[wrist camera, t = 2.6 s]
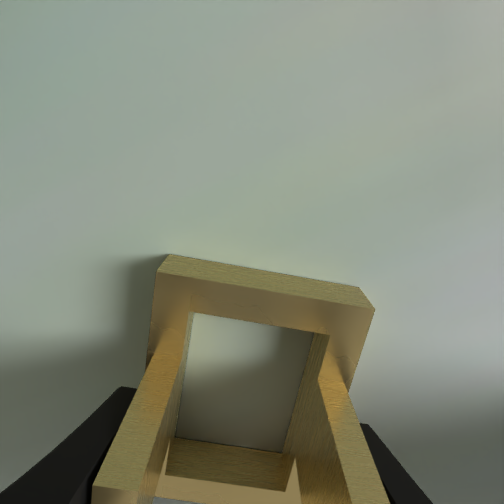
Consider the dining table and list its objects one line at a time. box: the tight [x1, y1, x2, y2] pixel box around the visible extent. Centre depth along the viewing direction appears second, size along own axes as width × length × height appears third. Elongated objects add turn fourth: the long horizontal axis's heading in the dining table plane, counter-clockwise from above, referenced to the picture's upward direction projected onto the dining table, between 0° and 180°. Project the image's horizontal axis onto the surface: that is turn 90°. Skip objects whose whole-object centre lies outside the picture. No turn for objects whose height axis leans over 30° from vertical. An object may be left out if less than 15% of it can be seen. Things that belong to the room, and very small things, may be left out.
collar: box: [91, 254, 390, 504], centre depth 9 cm, size 6×8×6 cm
